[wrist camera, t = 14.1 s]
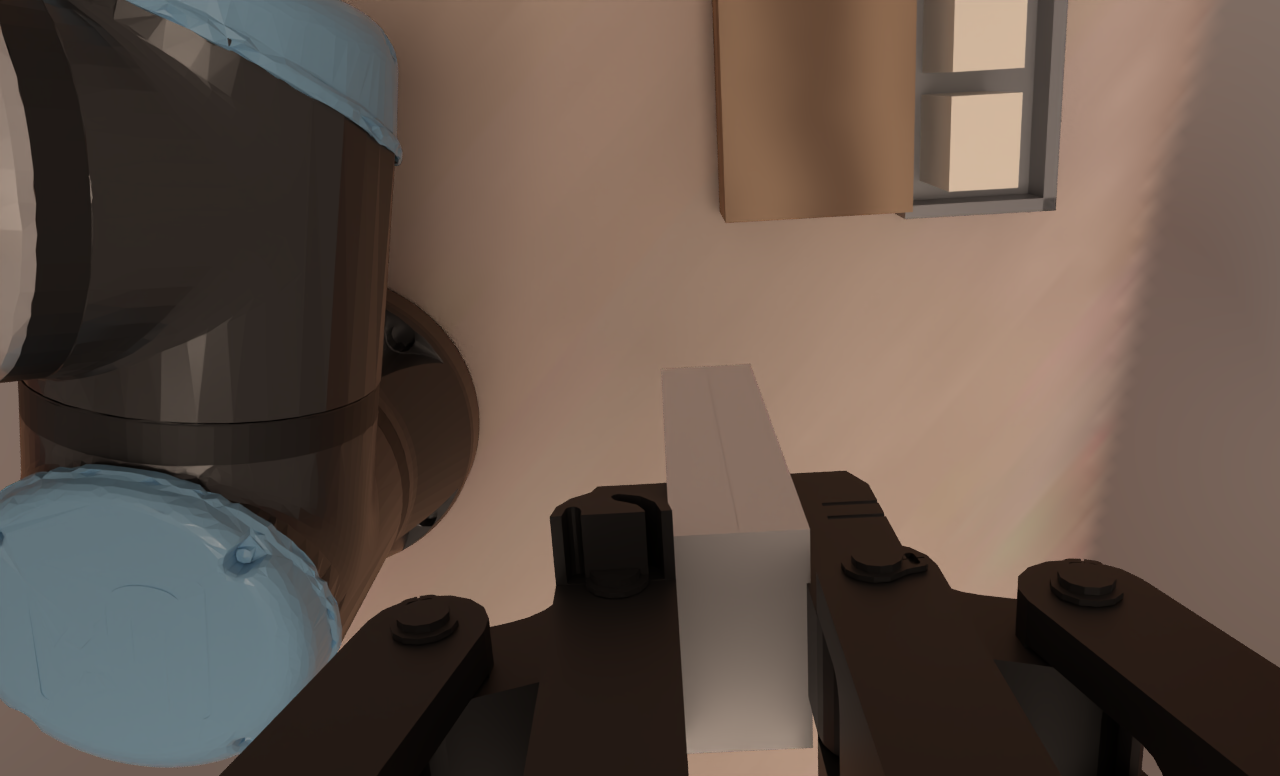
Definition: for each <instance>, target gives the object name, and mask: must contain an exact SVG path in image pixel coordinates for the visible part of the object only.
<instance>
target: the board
mask: <svg viewBox="0 0 1280 776" xmlns="http://www.w3.org/2000/svg"><path fill="white" fill-rule="evenodd" d="M712 7H713V35H714V63H715V91H716V119H717V147H718V175H719V203H720V213H721V215H722V217H723V219H724V221H725V222H726V223H732V222H750V221H767V220H784V219H802V218H819V217H836V216H853V215H871V214H888V213H905V212H913V179H914V126H915V73H916V21H917V0H712Z"/></svg>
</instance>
